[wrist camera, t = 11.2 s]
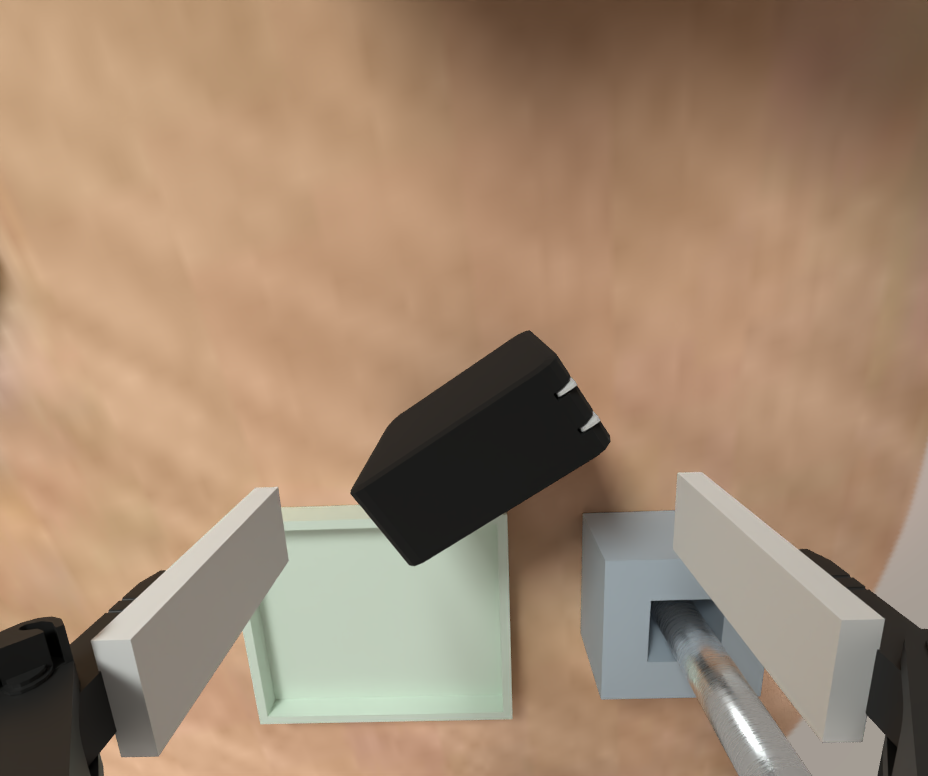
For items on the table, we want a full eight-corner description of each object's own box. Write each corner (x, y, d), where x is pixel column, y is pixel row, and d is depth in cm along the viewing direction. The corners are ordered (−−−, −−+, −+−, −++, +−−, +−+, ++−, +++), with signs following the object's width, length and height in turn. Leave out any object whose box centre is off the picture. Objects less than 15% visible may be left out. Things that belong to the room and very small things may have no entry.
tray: (237, 508, 29) (222, 523, 27) (505, 500, 28) (507, 514, 27) (271, 700, 33) (260, 724, 31) (510, 695, 32) (512, 719, 30)
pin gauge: (638, 567, 28) (755, 767, 17) (677, 566, 28) (821, 767, 17) (636, 600, 29) (748, 816, 17) (674, 599, 29) (812, 816, 17)
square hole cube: (582, 513, 29) (605, 561, 24) (726, 508, 28) (779, 556, 24) (580, 632, 31) (600, 699, 26) (714, 629, 30) (760, 696, 26)
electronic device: (388, 421, 27) (343, 498, 18) (526, 327, 26) (559, 355, 16) (429, 473, 28) (406, 575, 18) (565, 385, 27) (618, 446, 17)
